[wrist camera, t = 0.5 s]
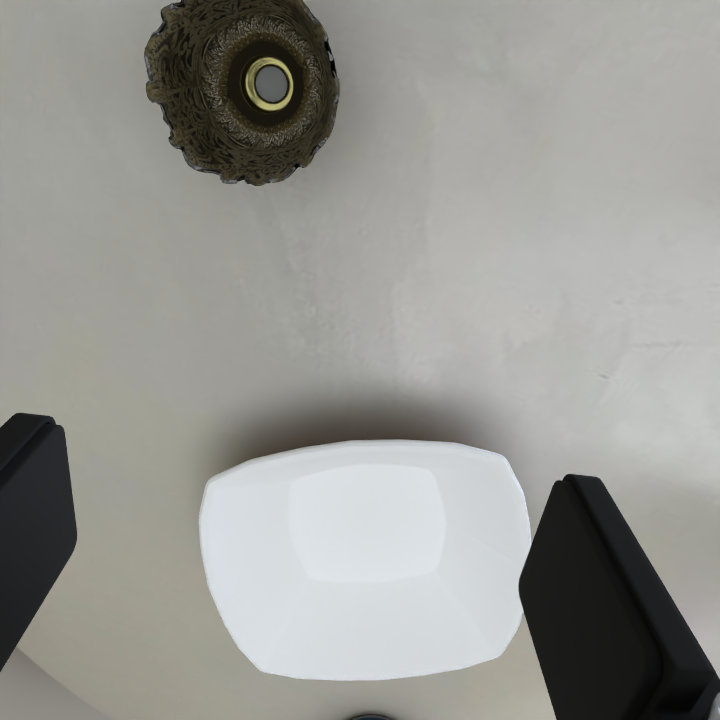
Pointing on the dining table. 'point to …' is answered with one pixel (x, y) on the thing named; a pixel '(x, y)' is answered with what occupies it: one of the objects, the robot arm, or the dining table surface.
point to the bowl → (367, 558)
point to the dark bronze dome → (242, 86)
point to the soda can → (370, 717)
